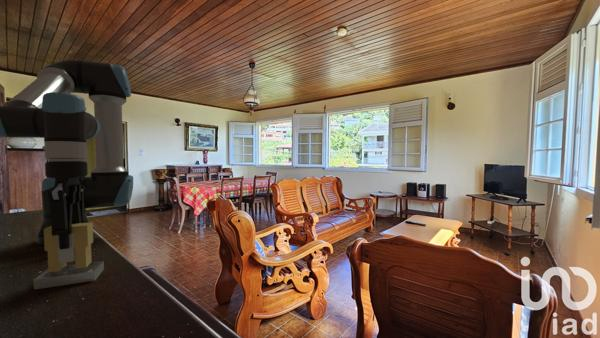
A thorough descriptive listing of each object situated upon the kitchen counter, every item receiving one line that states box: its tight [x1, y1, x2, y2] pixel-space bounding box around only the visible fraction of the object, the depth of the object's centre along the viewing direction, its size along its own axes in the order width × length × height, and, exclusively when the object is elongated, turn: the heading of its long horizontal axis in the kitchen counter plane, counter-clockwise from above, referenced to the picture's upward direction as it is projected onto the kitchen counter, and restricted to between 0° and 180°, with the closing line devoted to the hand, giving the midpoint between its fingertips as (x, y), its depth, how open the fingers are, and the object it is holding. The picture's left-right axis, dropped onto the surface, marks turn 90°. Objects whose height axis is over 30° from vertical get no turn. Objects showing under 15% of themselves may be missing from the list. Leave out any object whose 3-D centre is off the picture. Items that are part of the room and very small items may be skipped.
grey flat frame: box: [33, 260, 105, 290], centre depth 64 cm, size 7×11×2 cm, turn 112°
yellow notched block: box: [43, 221, 94, 272], centre depth 63 cm, size 4×8×10 cm, turn 112°
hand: (70, 258), depth 63 cm, fingers closed on yellow notched block, 4 cm apart
